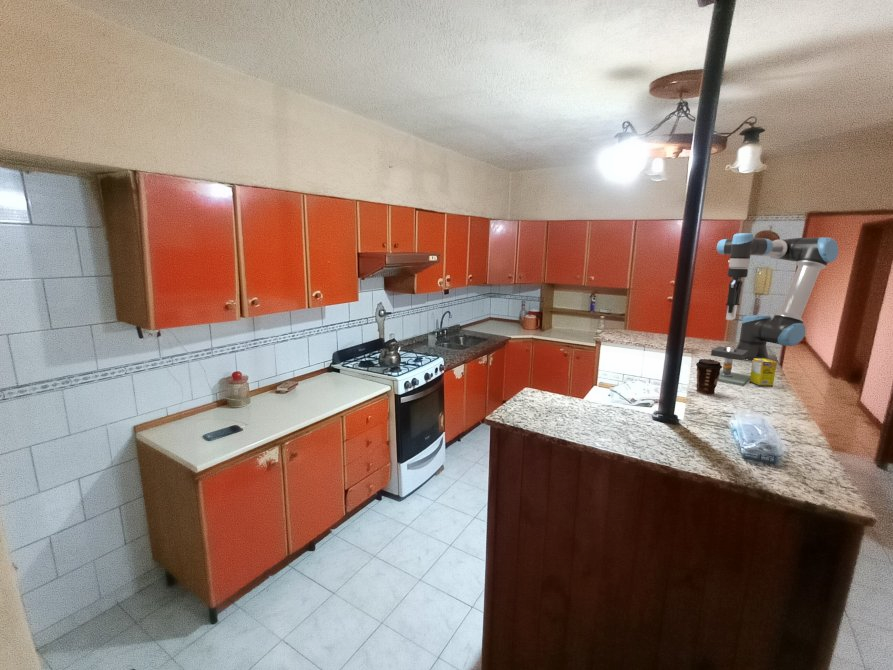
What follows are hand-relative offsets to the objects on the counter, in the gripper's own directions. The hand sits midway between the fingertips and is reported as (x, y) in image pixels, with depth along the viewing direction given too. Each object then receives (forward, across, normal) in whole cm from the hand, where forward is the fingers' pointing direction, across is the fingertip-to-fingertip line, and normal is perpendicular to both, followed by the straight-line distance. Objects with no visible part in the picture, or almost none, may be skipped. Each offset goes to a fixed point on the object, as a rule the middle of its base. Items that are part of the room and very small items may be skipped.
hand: (730, 319), depth 195 cm
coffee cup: (+25, +43, +4) cm, 50 cm away
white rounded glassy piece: (+23, +14, +4) cm, 28 cm away
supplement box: (+25, +14, +17) cm, 33 cm away
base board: (+25, +14, +4) cm, 29 cm away
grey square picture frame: (+14, +14, +4) cm, 20 cm away
